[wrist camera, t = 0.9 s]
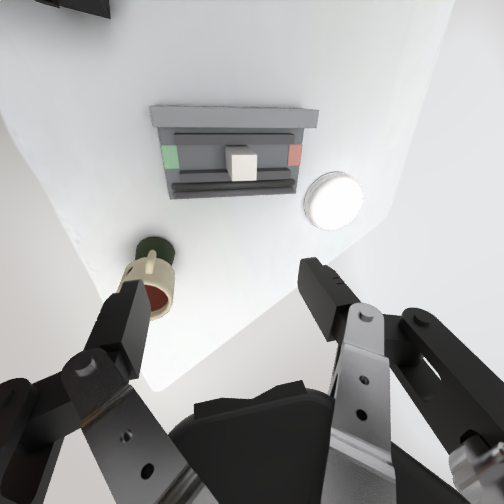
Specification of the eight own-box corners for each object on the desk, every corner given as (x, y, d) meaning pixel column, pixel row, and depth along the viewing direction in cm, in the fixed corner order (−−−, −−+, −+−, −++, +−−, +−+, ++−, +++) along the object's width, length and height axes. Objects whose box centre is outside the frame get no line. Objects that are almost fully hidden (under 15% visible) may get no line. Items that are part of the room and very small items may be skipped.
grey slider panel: (156, 105, 31) (149, 106, 26) (301, 108, 34) (319, 110, 30) (171, 194, 37) (167, 209, 32) (291, 189, 41) (305, 202, 36)
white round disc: (339, 158, 40) (351, 163, 37) (361, 199, 45) (373, 206, 42) (292, 198, 42) (300, 205, 39) (319, 232, 47) (327, 241, 45)
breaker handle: (224, 145, 33) (231, 155, 27) (246, 144, 33) (257, 154, 28) (225, 167, 34) (232, 181, 29) (245, 167, 35) (256, 180, 29)
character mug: (136, 219, 38) (114, 266, 27) (181, 227, 40) (178, 273, 30) (132, 273, 43) (113, 330, 33) (173, 277, 46) (167, 331, 35)
